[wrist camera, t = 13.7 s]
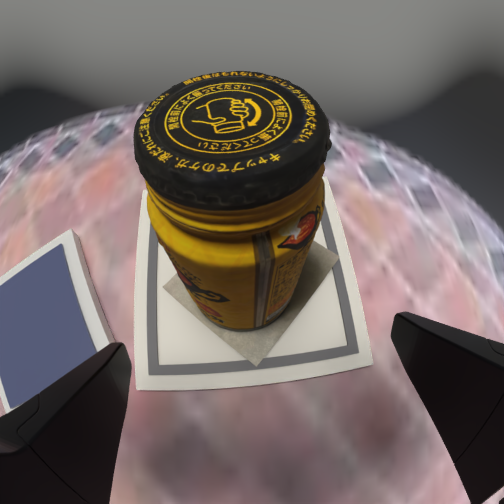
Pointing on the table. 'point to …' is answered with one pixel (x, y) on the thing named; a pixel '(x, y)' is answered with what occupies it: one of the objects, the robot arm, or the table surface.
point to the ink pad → (47, 319)
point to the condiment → (238, 201)
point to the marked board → (223, 355)
